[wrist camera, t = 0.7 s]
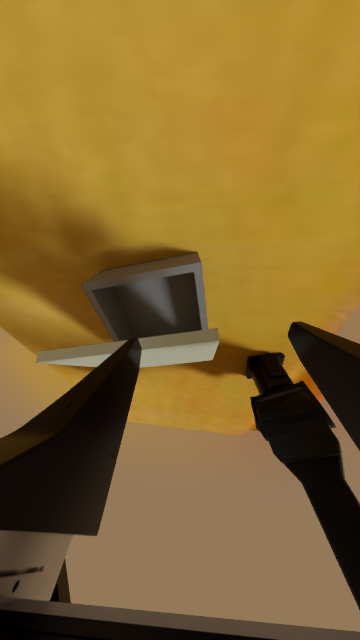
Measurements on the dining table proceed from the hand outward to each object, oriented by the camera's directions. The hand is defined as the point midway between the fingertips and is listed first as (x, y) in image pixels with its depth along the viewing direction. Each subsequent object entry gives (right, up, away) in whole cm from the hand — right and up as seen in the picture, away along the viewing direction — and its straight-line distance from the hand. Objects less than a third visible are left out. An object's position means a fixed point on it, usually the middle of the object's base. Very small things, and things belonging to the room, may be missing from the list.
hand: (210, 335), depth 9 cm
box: (-5, +3, +14) cm, 15 cm away
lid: (-5, -3, +8) cm, 9 cm away
